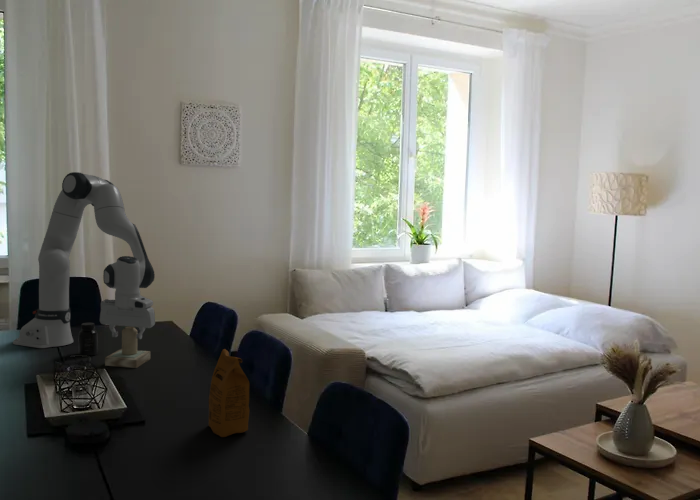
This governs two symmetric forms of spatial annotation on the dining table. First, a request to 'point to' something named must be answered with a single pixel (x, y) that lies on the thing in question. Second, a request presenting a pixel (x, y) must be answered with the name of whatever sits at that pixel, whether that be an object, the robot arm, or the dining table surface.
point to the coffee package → (228, 397)
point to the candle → (129, 341)
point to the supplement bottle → (88, 339)
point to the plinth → (127, 359)
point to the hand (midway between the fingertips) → (127, 337)
